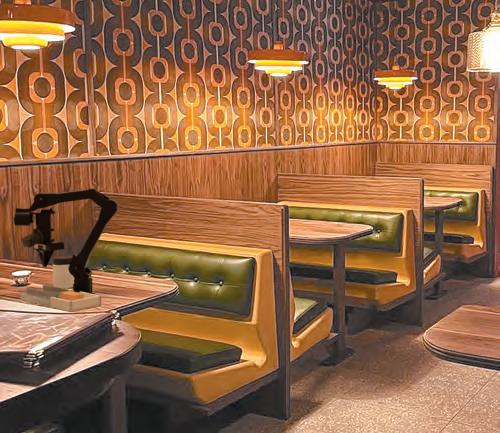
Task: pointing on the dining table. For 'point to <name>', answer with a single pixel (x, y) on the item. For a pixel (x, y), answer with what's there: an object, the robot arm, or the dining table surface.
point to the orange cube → (75, 296)
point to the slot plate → (42, 294)
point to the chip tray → (76, 302)
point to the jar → (62, 272)
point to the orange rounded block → (65, 294)
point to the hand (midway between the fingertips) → (44, 266)
